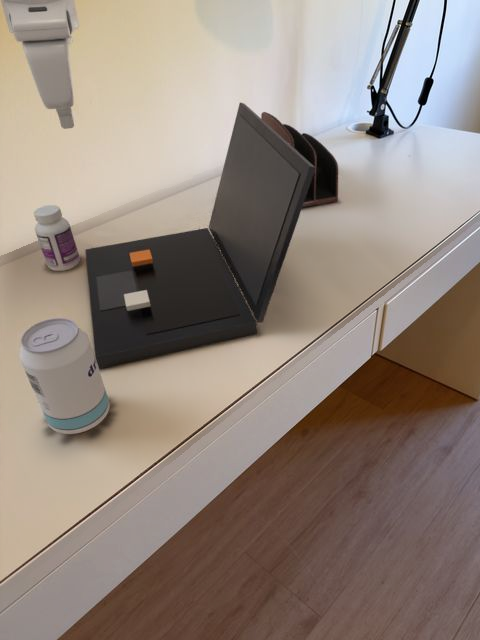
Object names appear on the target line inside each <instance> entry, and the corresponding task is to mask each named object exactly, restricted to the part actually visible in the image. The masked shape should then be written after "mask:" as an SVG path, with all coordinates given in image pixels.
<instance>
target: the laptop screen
mask: <svg viewBox="0 0 480 640" xmlns="http://www.w3.org/2000/svg"><path fill="white" fill-rule="evenodd" d="M315 169H316V167H314V166H313V165H312V164H311V163H310V162H309V161H308V160H307V159H305V158H304V157H303V156H302V155H301V154H300V153H299V152H298V151H297V150H295V149H294V148H293V147H292V146H291V145H290V144H289V143H288V142H287V141H285V140H284V139H283V138H282V137H281V136H280V135H279V134H278V133H277V132H275V131H274V130H273V129H272V128H271V127H270V126H269V125H268V124H267V123H265V122H264V121H263V120H262V119H261V116H259V115H258V114H257V113H255V112H254V110H252V109H251V108H250V107H249V106H248V105H247V104H246V103H244V102H239V104H238V108H237V111H236V116H235V120H234V124H233V128H232V132H231V135H230V140H229V144H228V148H227V151H226V156H225V160H224V163H223V168H222V171H221V176H220V180H219V184H218V188H217V192H216V196H215V200H214V203H213V207H212V212H211V214H210V215H211V216H210V219H209V224H208V227H207V228H208V230H209V231H210V233H211V235H212V237H213V239H214V241H215V243H216V245H217V247H218V249H219V251H220V253H221V255H222V257H223V259H224V261H225V262H226V264H227V266H228V268H229V270H230V272H231V274H232V276H233V278H234V280H235V282H236V284H237V286H238V288H239V290H240V292H241V293H242V295H243V297H244V299H245V301H246V303H247V305H248V307H249V309H250V311H251V313H252V315H253V317H254V319H255V321H256V323H264V320H265V317H266V314H267V311H268V308H269V305H270V302H271V300H272V297H273V294H274V290H275V288H276V285H277V282H278V279H279V276H280V273H281V271H282V267H283V264H284V261H285V259H286V255H287V253H288V250H289V247H290V244H291V241H292V238H293V235H294V233H295V229H296V226H297V223H298V221H299V218H300V215H301V212H302V209H303V208H304V207H303V204H304V201H305V198H306V195H307V192H308V189H309V186H310V183H311V180H312V177H313V175H314V172H315ZM302 207H303V208H302Z"/></svg>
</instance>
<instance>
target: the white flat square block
mask: <svg viewBox="0 0 480 640" xmlns="http://www.w3.org/2000/svg"><path fill="white" fill-rule="evenodd" d="M124 298H125V303H126V308H127V311H130V310H135V309H140V308H145V307H150V306H151V305H150V301H149V297H148V293H147V290H144V291H139V292H133V293H128V294H124Z"/></svg>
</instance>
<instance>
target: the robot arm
mask: <svg viewBox="0 0 480 640" xmlns="http://www.w3.org/2000/svg"><path fill="white" fill-rule="evenodd" d="M0 2H1V7H2V9H3V10H2V11H3V13H4V17H5V20H6V21H5V22H6V25H7V29H8V31H9V32H10V33H11V34H13V36H14V39H15V40H16V42H18V43H20V42H21V45H22V49H23V52H24V55H25V59H26V60H27V61H26V62H27V64H28V68H29V70H30V72H31V76H32V78H33V81H34V84H35V86H36V89H37V92H38V94H39V97H40V99H41V102H42V104H43V105H44V108H45V109H46V110H56V114H57V116H58V119H59V123H60V126H61V128H62V129H65V130H66V129H67V130H68V129H73V128H74V127H75V122H74V115H73V111H72V107H74V103H75V102H74V101H75V99H74V88H73V80H72V70H71V63H70V62H71V61H70V52H69V50H70V49H69V46H70V45H71V44H72V43H73V42H74V40H73V37H72V34H73V33H74V31H75V30H78V29H79V28H80V23H79V18H78V14H77V8H76V3H75V0H0Z"/></svg>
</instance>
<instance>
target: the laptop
mask: <svg viewBox="0 0 480 640" xmlns="http://www.w3.org/2000/svg"><path fill="white" fill-rule="evenodd" d="M149 249H150V252H151V256H152V259H153V263H150V264H144V265H139V266H134V267H133V266H132V262H131V258H130V254H129V253H132V252H138V251H143V250H149ZM85 259H86V271H87V281H88V282H87V283H88V292H89V302H90V314H91V324H92V335H93V346H94V356H95V359H96V362H97V365H98V368H99V370H101V369H104V368H105V369H106V368H109V367H113V366H119V365H124V364H127V363H132V362H138V361H142V360H145V359H151V358H154V357H159V356H164V355H168V354H174V353H177V352H183V351H187V350H191V349H196V348H200V347H205V346H209V345H214V344H218V343H222V342H226V341H227V342H228V341H233V340H237V339H241V338H245V337H249V336H254V335H257V334H258V327H257V326H258V325H257V323H258V322H257V320H256V318H255V316H254V315H253V313H252V311H251V309H250V307H249V305H248V303H247V301H246V299H245V297H244V295H243V293H242V291H241V289H240V288H239V286H238V284H237V282H236V280H235V278H234V276H233V274H232V272H231V270H230V268H229V266H228V264H227V263H226V261H225V259H224V257H223V255H222V253H221V251H220V249H219V247H218V245H217V243H216V241H215V239H214V237H213V236H212V234H211V232H210V230H209V228H208V227H205V228H200V229H193V230H188V231H183V232H176V233H171V234H165V235H160V236H159V235H158V236H153V237H148V238H141V239H137V240H136V239H135V240H130V241H126V242H120V243H113V244H107V245H101V246H96V247H91V248H86V249H85ZM144 290H147V293H148V297H149V301H150V305H151V306H150V307H145V308H140V309H135V310H130V311H127V308H126V303H125V298H124V294H128V293H133V292H139V291H144Z"/></svg>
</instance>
